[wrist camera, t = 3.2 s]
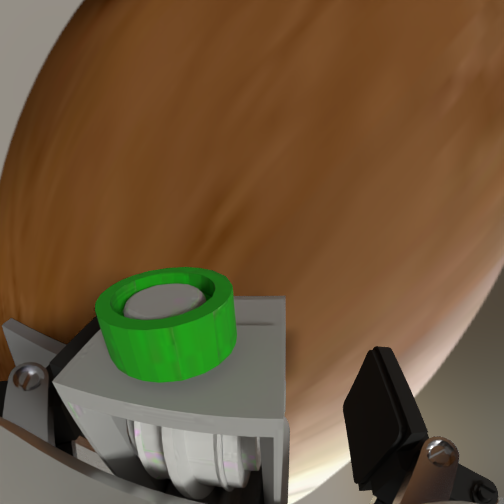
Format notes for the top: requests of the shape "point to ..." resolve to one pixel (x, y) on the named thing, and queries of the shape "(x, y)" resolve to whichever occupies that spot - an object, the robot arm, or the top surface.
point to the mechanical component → (186, 387)
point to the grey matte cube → (91, 454)
